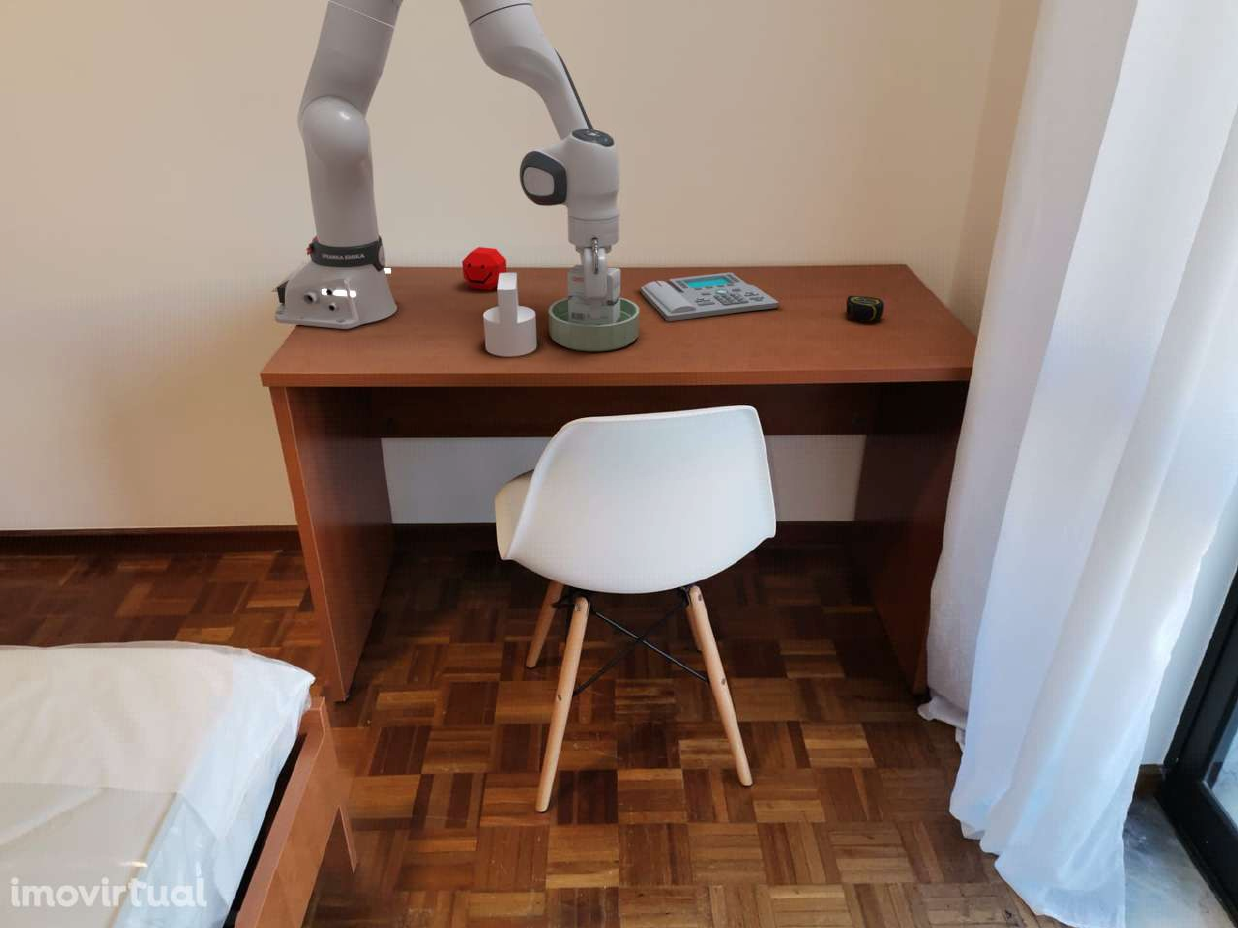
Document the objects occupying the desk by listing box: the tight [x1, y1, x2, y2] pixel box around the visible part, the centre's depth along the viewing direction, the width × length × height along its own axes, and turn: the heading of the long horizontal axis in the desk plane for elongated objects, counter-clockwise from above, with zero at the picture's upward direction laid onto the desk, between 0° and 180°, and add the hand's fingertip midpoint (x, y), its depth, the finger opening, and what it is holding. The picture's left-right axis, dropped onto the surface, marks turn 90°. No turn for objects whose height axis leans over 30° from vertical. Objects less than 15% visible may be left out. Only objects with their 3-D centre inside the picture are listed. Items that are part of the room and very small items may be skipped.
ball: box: [461, 246, 508, 291], centre depth 185 cm, size 8×8×8 cm
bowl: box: [548, 297, 640, 352], centre depth 163 cm, size 16×16×5 cm
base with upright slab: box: [482, 272, 538, 357], centre depth 157 cm, size 9×9×12 cm
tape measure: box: [845, 295, 885, 322], centre depth 172 cm, size 7×7×4 cm
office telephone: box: [640, 272, 779, 322], centre depth 181 cm, size 23×3×20 cm
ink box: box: [566, 264, 621, 325], centre depth 161 cm, size 8×5×12 cm, turn 74°
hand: (593, 307), depth 162 cm, fingers open, 8 cm apart
